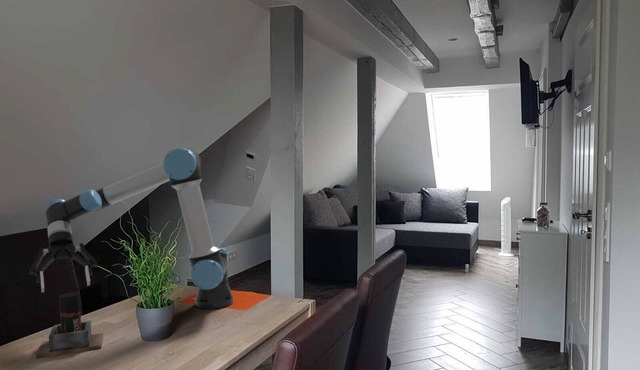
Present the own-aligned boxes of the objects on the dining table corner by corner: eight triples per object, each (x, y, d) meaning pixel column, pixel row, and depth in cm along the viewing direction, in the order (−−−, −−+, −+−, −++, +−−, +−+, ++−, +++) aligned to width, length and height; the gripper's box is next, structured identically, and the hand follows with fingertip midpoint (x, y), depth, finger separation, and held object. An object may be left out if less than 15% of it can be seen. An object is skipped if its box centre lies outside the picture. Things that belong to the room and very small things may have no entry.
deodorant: (73, 344, 153) (70, 297, 152) (56, 343, 154) (54, 297, 153) (85, 337, 159) (83, 292, 158) (70, 336, 160) (67, 292, 159)
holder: (103, 335, 165) (102, 318, 165) (101, 348, 154) (100, 329, 154) (43, 344, 159) (41, 326, 158) (36, 358, 147) (35, 338, 147)
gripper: (97, 239, 182) (106, 286, 171) (19, 247, 169) (23, 299, 157) (98, 226, 178) (107, 274, 166) (18, 233, 165) (22, 286, 153)
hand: (66, 286), depth 162 cm, fingers open, 13 cm apart
